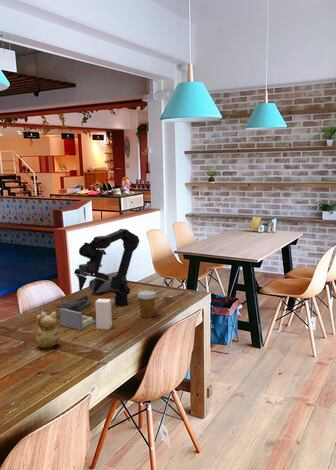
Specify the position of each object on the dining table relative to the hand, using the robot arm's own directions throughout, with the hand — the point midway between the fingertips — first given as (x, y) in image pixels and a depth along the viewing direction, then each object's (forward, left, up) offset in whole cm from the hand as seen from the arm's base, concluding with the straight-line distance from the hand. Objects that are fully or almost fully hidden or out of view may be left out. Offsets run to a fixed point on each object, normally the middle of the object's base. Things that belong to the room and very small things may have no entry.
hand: (86, 291), depth 208 cm
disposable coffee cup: (-29, +7, -14) cm, 33 cm away
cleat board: (+6, +5, -14) cm, 16 cm away
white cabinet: (-5, +14, -14) cm, 20 cm away
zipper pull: (+4, -15, -14) cm, 21 cm away
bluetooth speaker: (-19, -44, -14) cm, 50 cm away
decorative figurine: (+21, +27, -14) cm, 37 cm away
